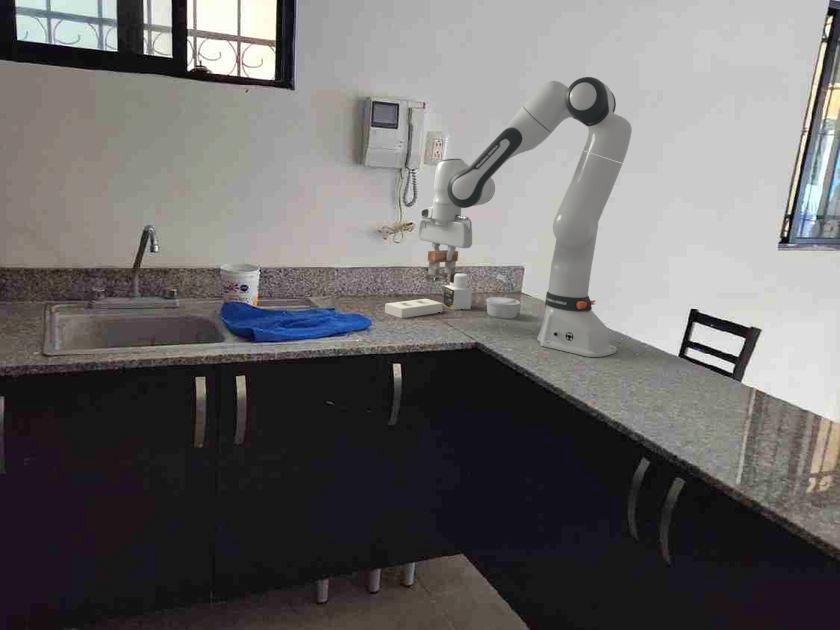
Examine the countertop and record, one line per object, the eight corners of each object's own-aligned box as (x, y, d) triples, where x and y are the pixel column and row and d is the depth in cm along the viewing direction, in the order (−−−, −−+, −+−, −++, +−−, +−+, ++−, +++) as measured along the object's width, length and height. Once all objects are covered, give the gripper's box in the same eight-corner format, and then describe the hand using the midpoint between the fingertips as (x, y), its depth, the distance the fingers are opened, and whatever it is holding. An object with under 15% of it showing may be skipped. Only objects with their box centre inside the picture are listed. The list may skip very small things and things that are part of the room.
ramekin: (520, 321, 215) (522, 305, 214) (486, 318, 215) (487, 302, 214) (516, 313, 226) (518, 298, 224) (483, 311, 226) (485, 295, 225)
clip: (456, 273, 207) (458, 251, 205) (433, 275, 200) (435, 252, 199) (449, 272, 209) (451, 249, 207) (426, 274, 202) (428, 251, 201)
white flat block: (442, 312, 219) (442, 303, 218) (401, 318, 207) (401, 308, 206) (425, 307, 225) (426, 298, 224) (384, 312, 213) (385, 303, 212)
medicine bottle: (442, 305, 230) (445, 271, 227) (460, 304, 233) (463, 271, 230) (452, 310, 223) (455, 274, 221) (470, 309, 226) (473, 274, 224)
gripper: (479, 217, 195) (474, 263, 198) (430, 210, 210) (427, 253, 213) (464, 217, 191) (460, 265, 194) (416, 210, 205) (413, 254, 209)
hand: (442, 259), depth 204 cm, fingers closed on clip, 3 cm apart
